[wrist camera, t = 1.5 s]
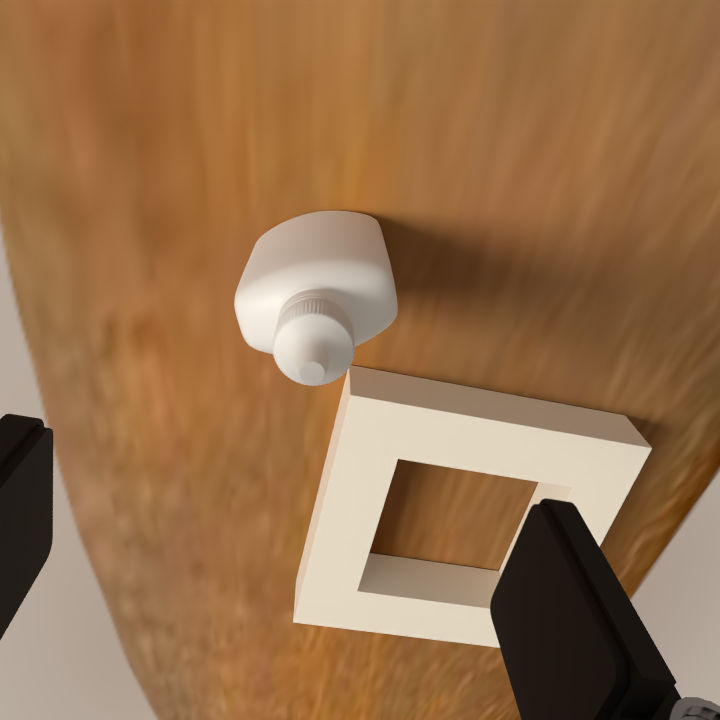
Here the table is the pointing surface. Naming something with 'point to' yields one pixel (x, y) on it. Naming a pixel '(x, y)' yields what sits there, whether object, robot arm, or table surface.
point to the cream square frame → (456, 450)
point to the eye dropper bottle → (317, 293)
